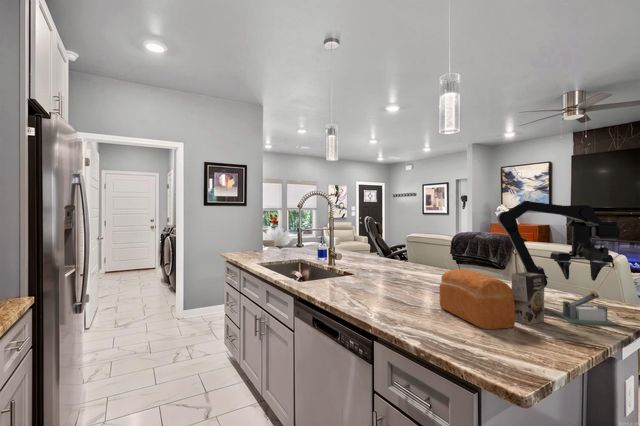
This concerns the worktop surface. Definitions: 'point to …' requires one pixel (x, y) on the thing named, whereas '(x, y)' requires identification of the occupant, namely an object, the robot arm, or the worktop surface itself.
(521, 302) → the coffee box
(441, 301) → the bread
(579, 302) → the grey and brown bar
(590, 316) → the heatsink board
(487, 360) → the worktop surface
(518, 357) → the worktop surface
